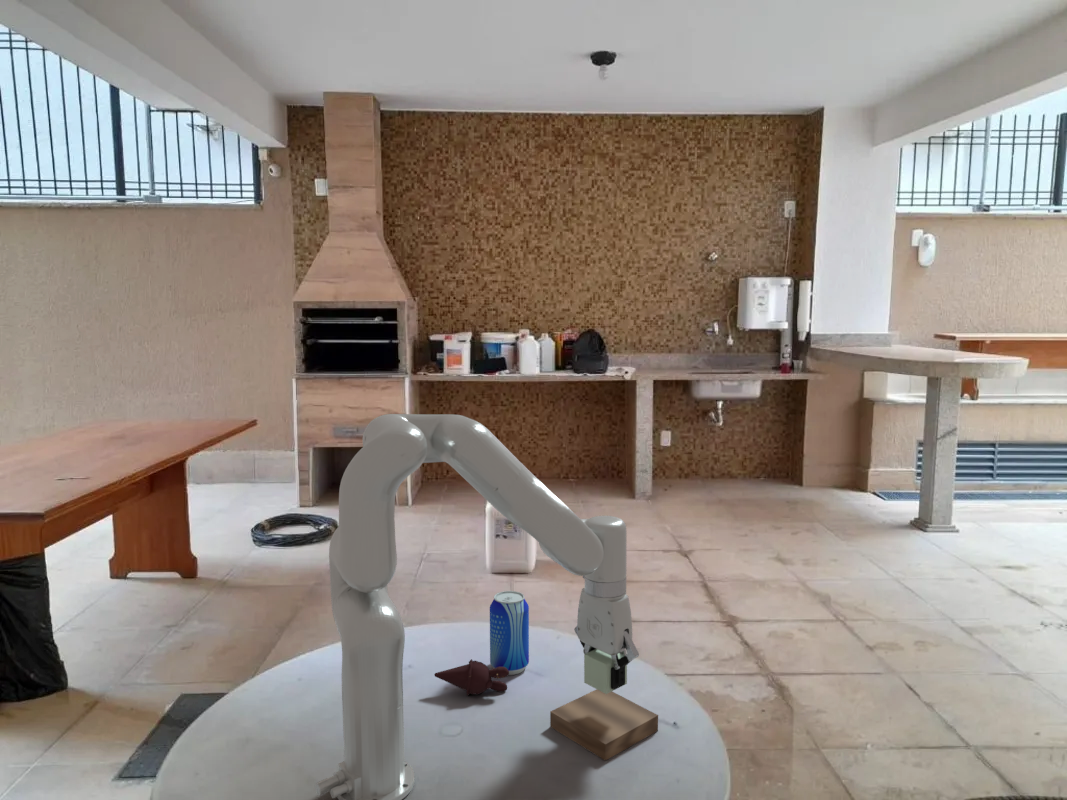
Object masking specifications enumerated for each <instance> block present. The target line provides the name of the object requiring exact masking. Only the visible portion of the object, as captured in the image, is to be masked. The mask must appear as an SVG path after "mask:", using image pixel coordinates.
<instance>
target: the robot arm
mask: <svg viewBox="0 0 1067 800" xmlns="http://www.w3.org/2000/svg"><path fill="white" fill-rule="evenodd" d="M362 446H363V447H361V449H359V450H358V451H357V453H356V454H354V456H353V457H352V459H351V460H350V462H349V463H348V464H347V467H346V468H345V470H344V471H343V475H342V477H341V479H340V483H339V484H340V485H339V492H338V526H337V528H336V529H335V530H334V532H333V534H332V536H331V538H330V542H329V549H328V561H329V562H328V563H329V582H330V584H329V585H330V599H331V601H330V602H331V603H330V604H331V611H332V612H331V613H332V616H333V620H334V623H335V626H336V628H337V632H338V634H339V637H340V644H341V703H342V728H343V729H342V731H343V758H344V759H343V761H341V762H339V763H337V764H338V765H337V766H338V767H337V768H338V769H337V771H335V772H334V773H333V775H332V776H330V777H328V778H327V777H326V778H324V779H322V780H320V781H317V782H315V785H314V788H315V793H316V794H317V796H322V795H324V794H327V793H330V796H331V799H335V798H337V799H338V800H403V799H404V798H406V797H407V796H408V795H409V794H410V792H411V791H412V790H413V787H414V785H415V771H414V768H413V767H412V766H411V764H409V762H407V761H405V730H404V729H405V727H404V725H405V724H404V723H405V722H404V689H403V688H404V685H403V682H404V679H403V665H404V664H403V662H404V651H405V641H406V640H405V639H406V638H405V637H406V633H405V632H406V631H405V626H404V621H403V619H402V616H401V614H400V611H399V610H398V608H397V607H396V604H395V603H394V602H393V600H392V599H391V597H390V596H389V591H388V585H389V584H390V582H391V581H392V580H393V577H394V576H395V573H396V569H397V564H398V553H397V545H396V544H397V543H396V527H395V526H396V524H395V513H396V512H395V510H396V509H395V505H396V497H397V496H396V495H397V492H398V490H399V487H400V486H401V485H402V483H403V482H404V481H405V480H406V479H407V478H408V477H409V476H411V475H412V474H413V473H414V472H416V471H417V470H419V468H420V467H421V466H422V464H424V463H426V464H427V463H428V464H429V463H443V462H444V463H446V464H447V465H449V466H450V467H451V468H452V469H454V470H455V472H456V473H458V474H459V475H460V476H461V477H462V478H463V479H464V480H465V481H466V482H467V483H468V484H469V485H470V486H471V487H473V489H475V490H476V492H477V493H478V494H479V495H481V496H482V498H483V499H485V501H487V502H488V503H489V504H490V505H491V506H492V507H493V508H494V509H495V510H496V511H498V512H499V513H500V514H501V515H502V516H503V517H504V518H505V519H507V520H508V521H510V522H511V523H513V524H515V525H516V526H517V527H519V528H520V529H522V530H523V531H524V532H526V533H527V534H528V535H529V536H531V537H532V538H533V539H534V540H535V541H537V542H538V545H539V547H540V549H541V550H542V553H544V554H545V556H547V558H550V559H551V560H552V561H554V562H555V563H557V564H558V565H559V566H561V567H562V568H563V569H565V570H566V571H567V572H569V573H571V574H573V575H575V576H582V578H583V580H584V586H583V588H581V592H580V596H579V600H578V609H577V622H576V623H577V624H576V626H575V627H574V632H575V634H576V636H577V638H578V639H579V642H580V645H581V646H582V649H583V651H582V652H583V655H584V654H586V653H588V652H590V651H593V650H595V649H598V650H600V651H602V652H605V653H607V654H609V655H611V658H612V662H613V667H612V668H611V689H613V691H615V690H618V689H620V688H622V687H623V686H625V685H626V684H625V666H626V665H627V666H628V665H629V664H630V663H631V662H632V661H633V660H635V659H636V658H638V657H639V656H640V653H639V651H638V649H637V647H636V645H635V644H634V642H633V622H632V621H633V620H632V619H633V618H632V610H631V604H630V600H629V595H628V594H627V542H628V541H627V536H628V535H627V533H628V532H627V531H628V530H627V525H626V523H625V521H624V520H623V519H622V518H620V517H617V516H612V515H597V516H596V515H595V516H592V517H589V518H580V517H579V516H578V515H577V514H576V512H574V511H573V510H571V508H570V507H569V506H568V505H566V504H565V503H564V502H563V501H562V500H561V499H560V498H558V497H557V496H556V495H555V493H553V492H552V491H551V490H550V489H549V488H548V487H547V486H546V485H545V484H544V483H543V482H542V481H541V480H540V479H539V478H537V476H536V475H534V474H533V472H531V471H530V470H529V469H528V468H527V467H526V465H524V464H523V463H522V462H521V461H520V460H519V459H518V458H517V457H516V456H515V455H514V454H513V453H512V452H511V451H510V450H509V449H508V448H507V447H506V446H505V445H504V444H503V443H502V441H500V440H499V439H498V437H496V436H495V435H494V434H493V433H492V432H491V430H490V429H488V427H486V426H485V425H483V423H481V422H480V421H479V422H478V421H477V420H475V419H473V418H470V417H467V416H465V415H462V414H461V415H460V414H453V413H452V414H449V413H447V414H444V413H443V414H438V413H437V414H431V413H429V414H428V413H427V414H423V413H422V414H421V413H420V414H419V413H417V414H415V413H387V414H383V415H382V414H381V415H380V416H377V417H375V418H373V419H372V420H371V421H369V423H368V424H367V426H366V427H365V429H364V431H363V435H362ZM618 653H620V657H621V659H618V655H617V654H618ZM624 684H625V685H624Z"/></svg>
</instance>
